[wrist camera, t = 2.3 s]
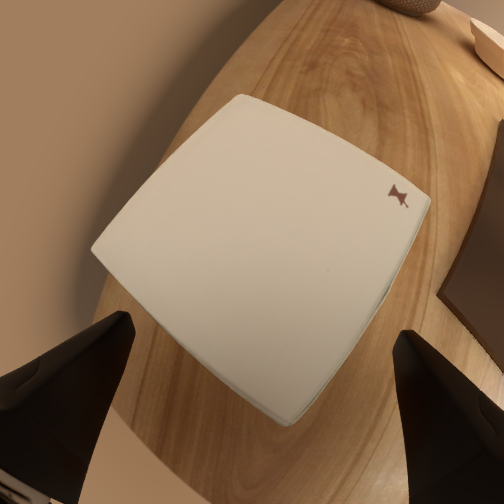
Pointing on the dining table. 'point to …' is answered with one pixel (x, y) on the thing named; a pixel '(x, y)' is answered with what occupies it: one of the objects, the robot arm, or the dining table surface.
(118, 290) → the dining table surface
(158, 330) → the dining table surface
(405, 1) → the planter
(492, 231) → the board
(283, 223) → the white packaging box
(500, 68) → the bowl
